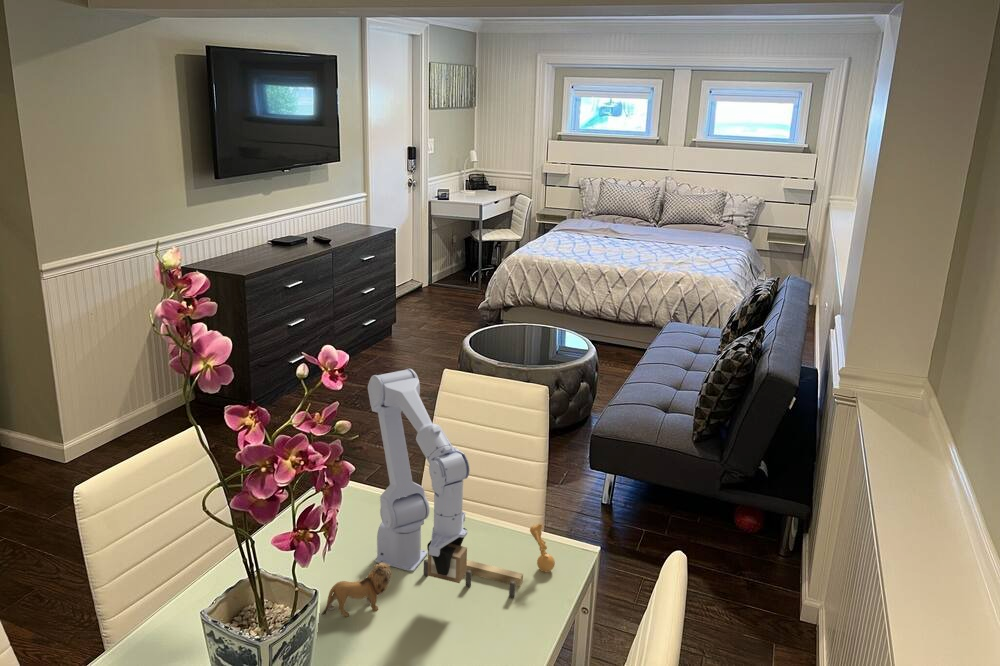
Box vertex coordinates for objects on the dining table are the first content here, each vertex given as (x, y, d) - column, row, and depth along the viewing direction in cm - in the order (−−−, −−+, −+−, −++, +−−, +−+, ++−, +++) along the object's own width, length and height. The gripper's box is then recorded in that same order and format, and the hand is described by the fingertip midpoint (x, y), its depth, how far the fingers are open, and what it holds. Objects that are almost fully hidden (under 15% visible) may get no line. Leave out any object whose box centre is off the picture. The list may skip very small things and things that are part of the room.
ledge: (422, 575, 172) (422, 561, 171) (435, 559, 178) (435, 546, 177) (513, 598, 166) (514, 584, 164) (523, 581, 171) (523, 567, 170)
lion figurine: (386, 592, 166) (386, 555, 164) (395, 606, 162) (395, 569, 159) (318, 610, 160) (316, 572, 157) (325, 626, 155) (324, 587, 152)
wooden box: (427, 575, 161) (427, 550, 159) (435, 565, 164) (435, 540, 163) (459, 583, 159) (459, 557, 157) (466, 572, 162) (467, 547, 161)
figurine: (557, 581, 172) (560, 533, 168) (530, 582, 171) (533, 534, 168) (550, 559, 180) (554, 513, 176) (525, 560, 179) (527, 514, 176)
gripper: (453, 531, 149) (451, 592, 153) (479, 496, 162) (477, 553, 166) (419, 524, 151) (418, 584, 155) (448, 490, 164) (446, 546, 169)
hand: (447, 567), depth 161 cm, fingers closed on wooden box, 4 cm apart
